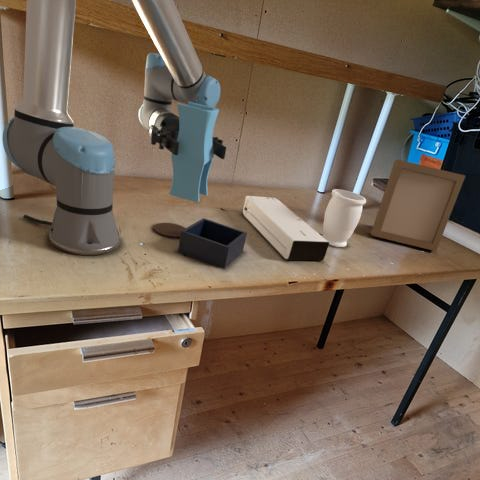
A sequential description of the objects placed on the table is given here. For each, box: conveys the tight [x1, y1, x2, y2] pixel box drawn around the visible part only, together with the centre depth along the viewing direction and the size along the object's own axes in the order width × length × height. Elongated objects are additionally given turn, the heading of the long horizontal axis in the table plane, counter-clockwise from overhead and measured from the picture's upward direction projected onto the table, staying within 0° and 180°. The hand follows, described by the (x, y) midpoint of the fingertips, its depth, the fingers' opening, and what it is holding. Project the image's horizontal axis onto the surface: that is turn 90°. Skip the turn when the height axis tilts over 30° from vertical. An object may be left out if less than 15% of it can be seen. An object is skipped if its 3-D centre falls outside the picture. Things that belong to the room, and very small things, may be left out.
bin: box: [177, 217, 248, 269], centre depth 104 cm, size 13×13×6 cm
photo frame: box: [370, 159, 466, 252], centre depth 139 cm, size 15×22×25 cm
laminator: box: [242, 194, 330, 262], centre depth 122 cm, size 34×12×6 cm, turn 22°
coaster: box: [153, 222, 186, 239], centre depth 111 cm, size 9×9×1 cm
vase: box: [168, 102, 220, 203], centre depth 98 cm, size 8×8×20 cm
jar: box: [321, 188, 367, 248], centre depth 125 cm, size 11×10×15 cm
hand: (201, 151), depth 94 cm, fingers closed on vase, 11 cm apart
